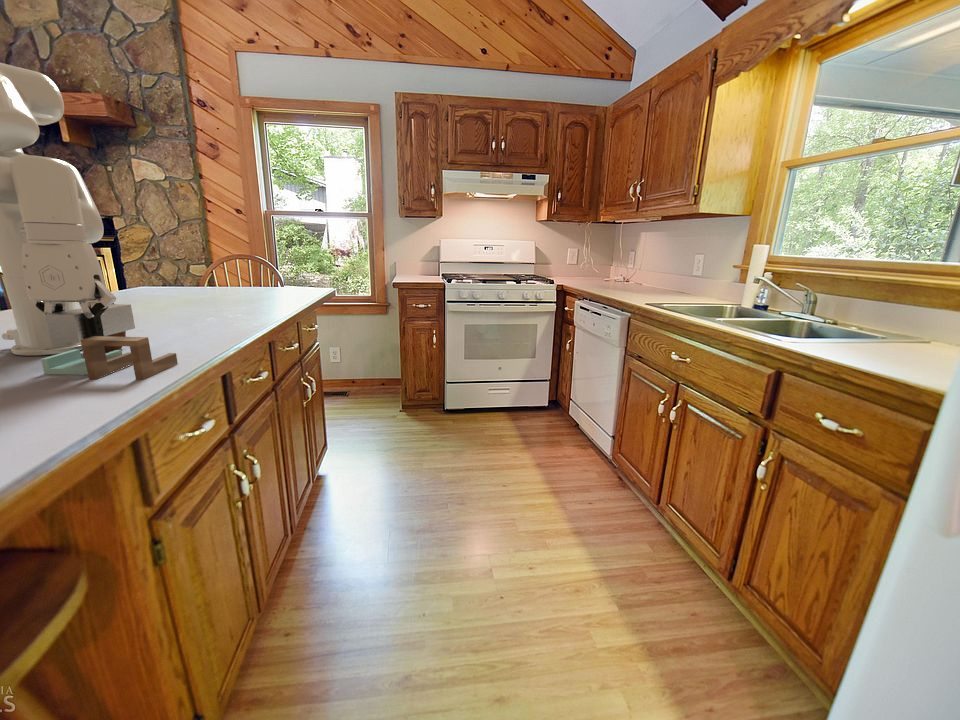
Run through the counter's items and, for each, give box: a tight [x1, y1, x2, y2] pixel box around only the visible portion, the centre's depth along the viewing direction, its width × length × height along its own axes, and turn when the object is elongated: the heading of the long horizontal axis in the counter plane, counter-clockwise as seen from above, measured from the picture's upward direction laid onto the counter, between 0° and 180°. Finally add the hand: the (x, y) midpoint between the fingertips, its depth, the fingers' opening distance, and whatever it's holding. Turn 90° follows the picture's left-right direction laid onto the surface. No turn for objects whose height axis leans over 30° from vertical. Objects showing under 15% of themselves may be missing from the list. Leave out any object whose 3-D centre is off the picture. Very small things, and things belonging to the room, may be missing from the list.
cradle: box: [40, 349, 123, 375], centre depth 80 cm, size 9×7×3 cm
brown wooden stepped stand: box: [81, 336, 179, 380], centre depth 79 cm, size 9×10×7 cm
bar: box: [45, 303, 136, 343], centre depth 81 cm, size 5×14×5 cm, turn 4°
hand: (80, 337), depth 78 cm, fingers closed on bar, 4 cm apart
